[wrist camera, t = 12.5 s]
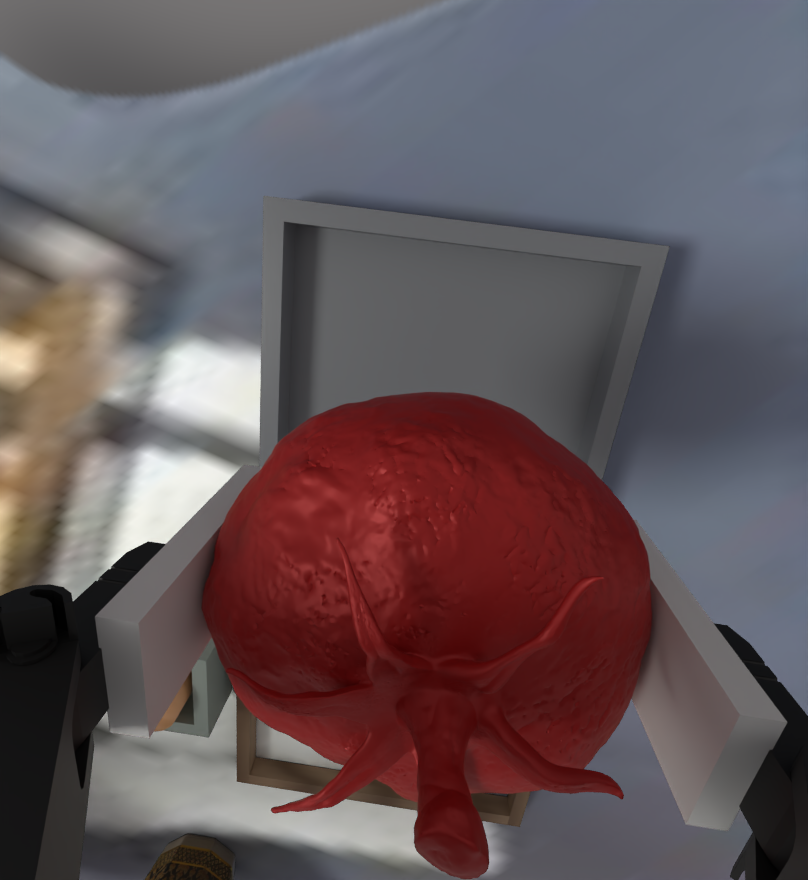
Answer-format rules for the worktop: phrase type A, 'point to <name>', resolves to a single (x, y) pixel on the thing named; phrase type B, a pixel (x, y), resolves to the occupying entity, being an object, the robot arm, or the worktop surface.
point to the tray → (449, 318)
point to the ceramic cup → (194, 860)
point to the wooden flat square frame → (317, 777)
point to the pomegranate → (433, 608)
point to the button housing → (204, 695)
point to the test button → (176, 705)
